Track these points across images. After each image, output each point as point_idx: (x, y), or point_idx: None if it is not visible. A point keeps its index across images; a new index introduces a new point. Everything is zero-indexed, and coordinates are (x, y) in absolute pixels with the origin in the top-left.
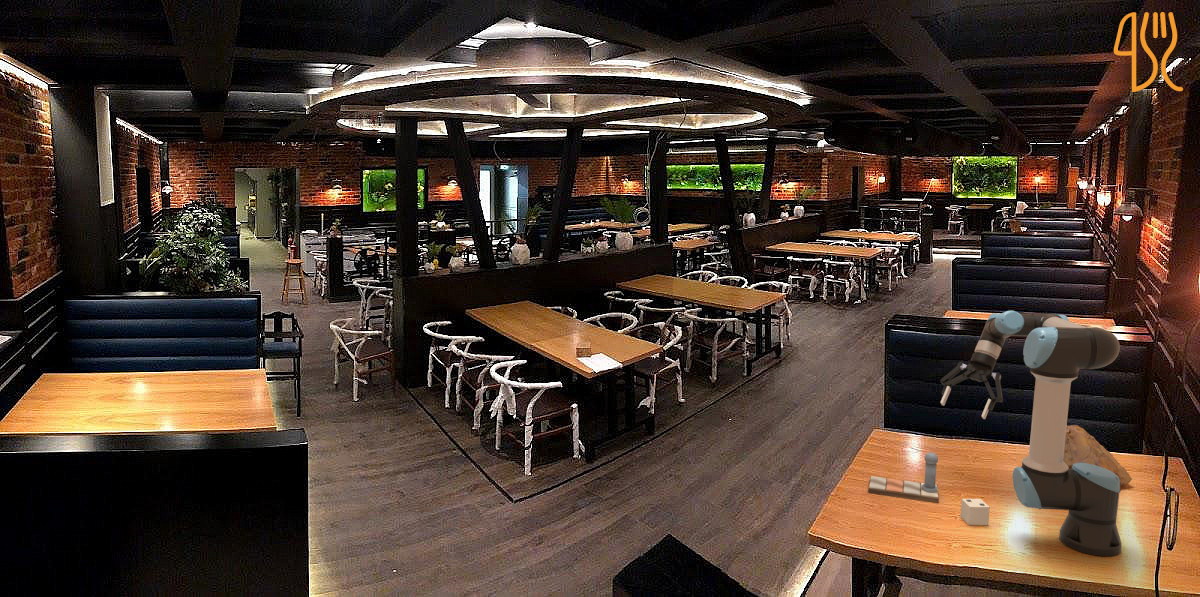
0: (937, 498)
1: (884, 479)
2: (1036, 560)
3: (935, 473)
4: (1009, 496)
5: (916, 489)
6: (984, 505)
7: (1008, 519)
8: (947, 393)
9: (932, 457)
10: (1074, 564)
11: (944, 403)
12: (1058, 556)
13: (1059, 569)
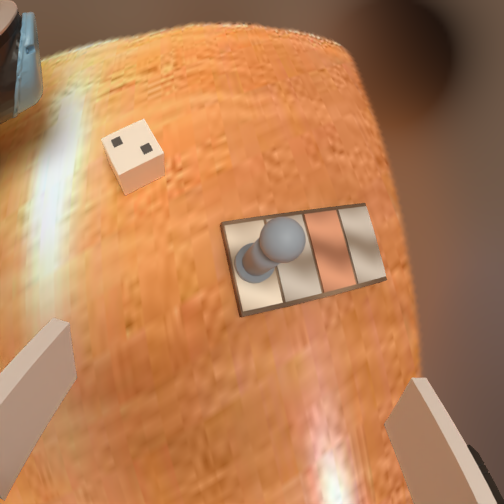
0: (224, 223)
1: (358, 272)
2: (52, 83)
3: (252, 247)
4: None
5: None
6: (111, 140)
7: (68, 215)
8: (440, 471)
9: (278, 218)
10: None
11: (395, 426)
12: None
13: None
